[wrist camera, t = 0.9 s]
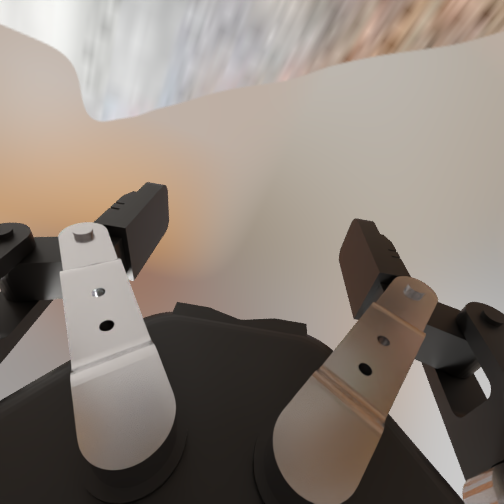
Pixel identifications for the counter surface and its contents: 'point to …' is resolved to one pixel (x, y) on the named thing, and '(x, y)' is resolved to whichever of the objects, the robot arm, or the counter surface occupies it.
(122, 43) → the counter surface
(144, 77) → the counter surface
